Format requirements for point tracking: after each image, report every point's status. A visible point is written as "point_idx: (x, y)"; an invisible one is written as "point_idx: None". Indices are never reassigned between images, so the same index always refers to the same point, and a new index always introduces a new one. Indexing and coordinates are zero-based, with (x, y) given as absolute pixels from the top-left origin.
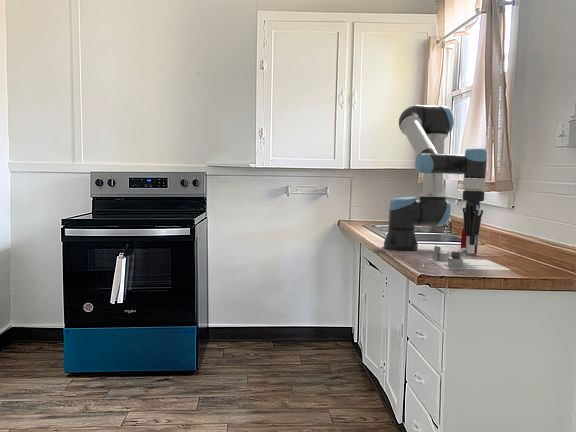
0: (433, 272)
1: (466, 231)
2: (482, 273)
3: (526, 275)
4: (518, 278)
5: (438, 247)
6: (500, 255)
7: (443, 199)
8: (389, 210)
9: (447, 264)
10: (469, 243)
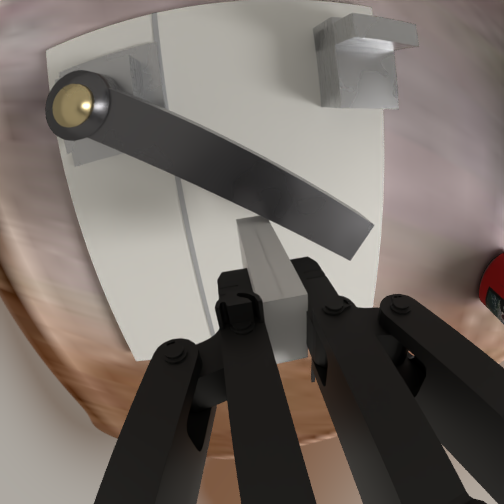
0: (28, 5)
1: (353, 324)
2: (64, 235)
3: (111, 378)
4: (42, 340)
5: (352, 20)
6: None
7: None
8: None
9: (139, 60)
10: (248, 272)
